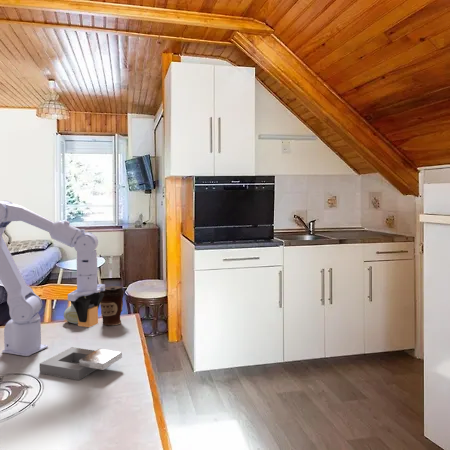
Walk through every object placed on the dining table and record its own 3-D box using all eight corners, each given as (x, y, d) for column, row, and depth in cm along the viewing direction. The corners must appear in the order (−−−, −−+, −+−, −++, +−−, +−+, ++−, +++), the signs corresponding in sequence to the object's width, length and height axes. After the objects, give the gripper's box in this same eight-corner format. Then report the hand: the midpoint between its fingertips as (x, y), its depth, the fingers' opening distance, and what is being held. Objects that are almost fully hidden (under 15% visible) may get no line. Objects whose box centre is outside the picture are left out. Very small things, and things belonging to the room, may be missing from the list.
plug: (78, 325, 117) (77, 305, 117) (86, 321, 121) (86, 302, 121) (89, 327, 116) (89, 306, 116) (98, 323, 120) (97, 303, 119)
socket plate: (39, 373, 101) (39, 363, 101) (72, 355, 112) (72, 347, 112) (79, 380, 97) (78, 370, 97) (108, 361, 109) (108, 352, 108)
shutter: (79, 365, 99) (79, 359, 99) (99, 354, 107) (99, 348, 107) (103, 369, 97) (103, 363, 97) (121, 357, 105) (121, 352, 105)
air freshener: (99, 318, 148) (99, 292, 147) (89, 325, 139) (89, 297, 139) (71, 317, 149) (70, 291, 148) (59, 324, 141) (59, 296, 140)
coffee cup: (117, 328, 137) (116, 290, 136) (94, 326, 139) (94, 289, 138) (128, 320, 146) (127, 285, 145) (107, 319, 147) (106, 284, 146)
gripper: (82, 279, 110) (82, 328, 110) (113, 270, 123) (113, 314, 124) (61, 277, 112) (62, 325, 113) (94, 269, 125) (94, 312, 126)
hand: (87, 319), depth 118 cm, fingers closed on plug, 4 cm apart
